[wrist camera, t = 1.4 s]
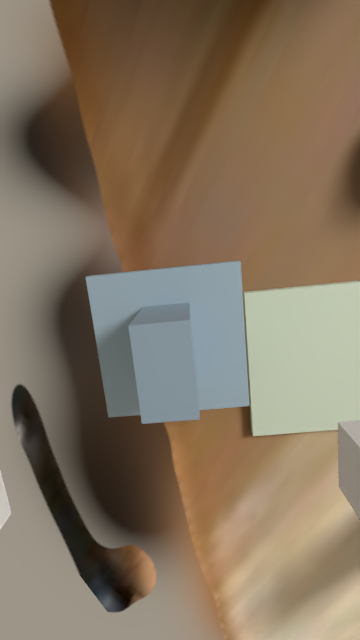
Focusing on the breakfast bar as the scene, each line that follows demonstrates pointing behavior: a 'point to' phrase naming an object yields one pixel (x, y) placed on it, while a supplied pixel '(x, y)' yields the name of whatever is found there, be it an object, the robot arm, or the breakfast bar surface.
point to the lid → (171, 340)
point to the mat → (303, 357)
